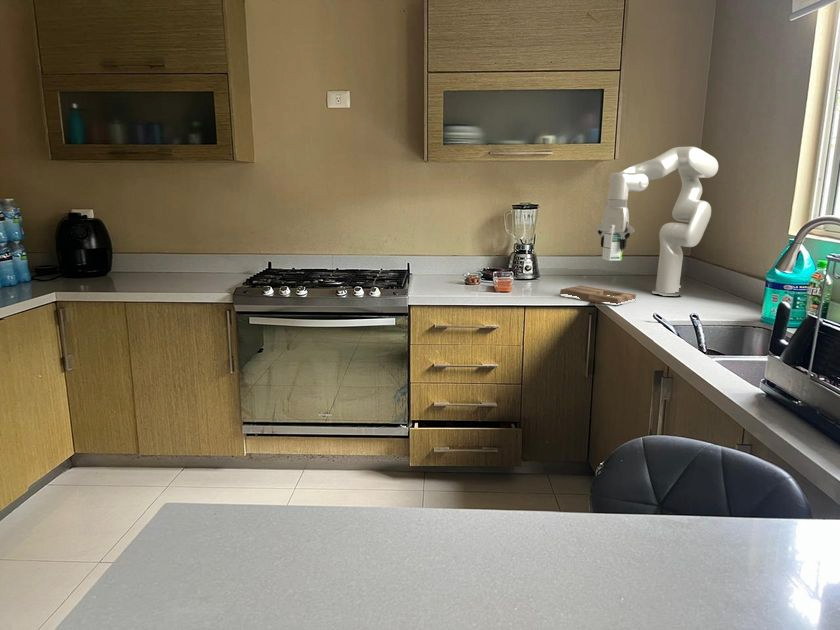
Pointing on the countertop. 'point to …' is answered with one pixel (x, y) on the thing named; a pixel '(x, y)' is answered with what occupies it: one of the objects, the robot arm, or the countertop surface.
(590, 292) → the board
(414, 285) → the countertop surface
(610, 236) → the syrup box
